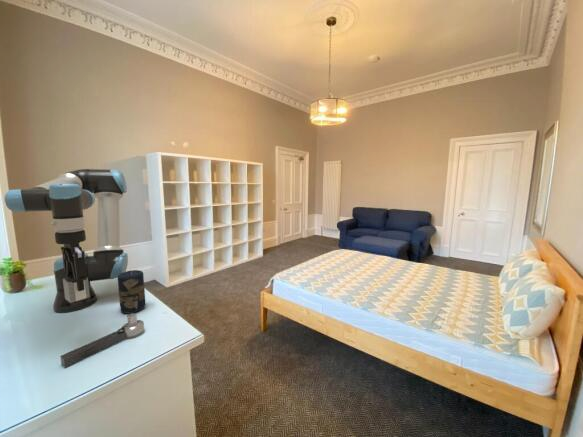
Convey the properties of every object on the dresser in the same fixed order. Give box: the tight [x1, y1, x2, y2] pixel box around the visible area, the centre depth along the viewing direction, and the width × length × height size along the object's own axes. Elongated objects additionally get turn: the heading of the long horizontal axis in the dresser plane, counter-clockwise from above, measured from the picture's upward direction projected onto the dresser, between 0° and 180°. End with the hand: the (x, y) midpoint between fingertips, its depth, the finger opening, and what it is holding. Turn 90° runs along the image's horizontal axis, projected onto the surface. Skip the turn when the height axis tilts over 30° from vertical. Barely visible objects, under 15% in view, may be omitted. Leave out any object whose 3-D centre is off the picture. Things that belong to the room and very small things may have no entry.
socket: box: [63, 277, 90, 303], centre depth 84 cm, size 5×5×7 cm
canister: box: [117, 269, 146, 314], centre depth 108 cm, size 10×10×18 cm
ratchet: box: [60, 312, 145, 369], centre depth 84 cm, size 7×24×7 cm, turn 148°
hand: (77, 296), depth 84 cm, fingers closed on socket, 5 cm apart
